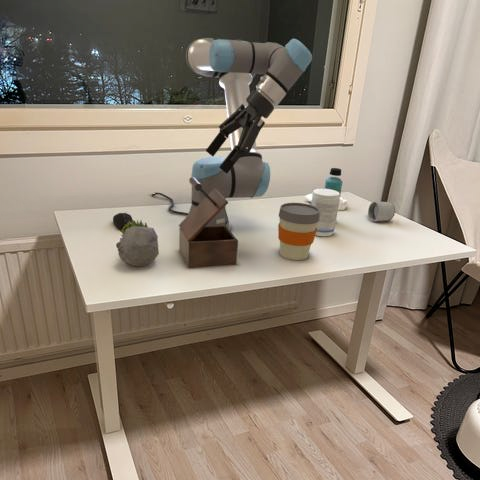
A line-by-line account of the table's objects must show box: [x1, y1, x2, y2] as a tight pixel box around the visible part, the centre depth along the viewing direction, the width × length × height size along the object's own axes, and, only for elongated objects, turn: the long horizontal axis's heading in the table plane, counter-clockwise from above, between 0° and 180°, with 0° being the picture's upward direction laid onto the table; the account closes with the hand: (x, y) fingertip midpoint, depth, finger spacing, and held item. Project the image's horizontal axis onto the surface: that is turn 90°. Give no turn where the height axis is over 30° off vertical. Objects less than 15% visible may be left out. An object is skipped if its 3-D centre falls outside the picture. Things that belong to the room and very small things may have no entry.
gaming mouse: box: [112, 212, 133, 231], centre depth 162 cm, size 6×15×4 cm, turn 22°
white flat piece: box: [304, 192, 348, 211], centre depth 202 cm, size 3×18×15 cm
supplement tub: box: [310, 188, 341, 237], centre depth 168 cm, size 10×10×15 cm
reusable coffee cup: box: [277, 202, 320, 261], centre depth 148 cm, size 13×12×15 cm
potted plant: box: [115, 218, 160, 267], centre depth 137 cm, size 12×13×15 cm
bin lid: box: [178, 176, 229, 242], centre depth 135 cm, size 15×13×9 cm
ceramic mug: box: [367, 200, 396, 222], centre depth 188 cm, size 11×8×8 cm
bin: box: [178, 225, 239, 269], centre depth 143 cm, size 15×13×8 cm
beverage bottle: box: [324, 167, 343, 201], centre depth 178 cm, size 6×7×20 cm
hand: (215, 161), depth 134 cm, fingers open, 13 cm apart
